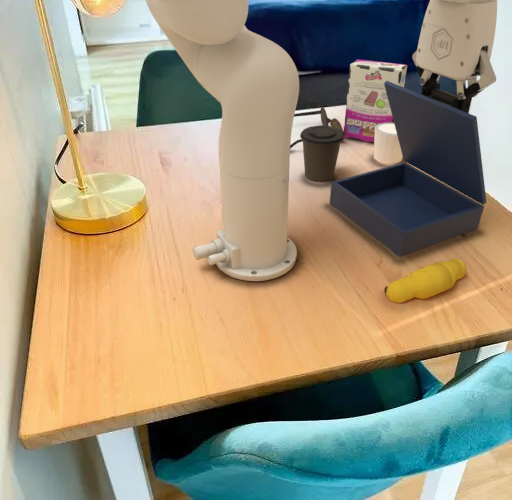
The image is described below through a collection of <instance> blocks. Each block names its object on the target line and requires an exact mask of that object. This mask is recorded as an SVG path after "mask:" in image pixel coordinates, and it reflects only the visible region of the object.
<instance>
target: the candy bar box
mask: <svg viewBox="0 0 512 500" xmlns="http://www.w3.org/2000/svg"><path fill="white" fill-rule="evenodd" d="M407 70H408V65H407V64H403V63H393V62H384V61H374V60H367V59H356V60H354V61H353V62H351V63H350V64H349V71H348V82H347V93H346V94H347V95H346V104H345V116H344V126H343V131H344V132H346V136H344V139H348V140H353V141H359V142H363V143H364V142H365V143H370V144H374V138H375V127H376V125H378V124H381V123H394V120H393V117H392V113H391V109H390V105H389V101H388V97H387V93H386V90H385V86H384V83H385V82H386V81H389V82H391V83H394V84H396V85H399V86H401V87H404V88H405V84H406V78H407Z"/></svg>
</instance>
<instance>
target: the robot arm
mask: <svg viewBox="0 0 512 500" xmlns="http://www.w3.org/2000/svg"><path fill="white" fill-rule="evenodd" d="M145 3H146V5H147V7H148V10H149V12H150V14H151V15H152V17H153V19H154V20H155V22H156V24H157V25H158V27H159V28H160V29H161V31H162V32H163V34H164V35H165V36H166V38H167V39H168V41H169V43H170V44H171V45H172V47H173V49H174V50H175V51H176V53H177V55H178V56H179V57H180V58H181V60H182V61H183V63H184V64H185V65H186V67H187V68H188V70H189V71H190V73H191V74H192V76H193V77H194V78H195V79H196V81H197V82H198V84H199V85H200V86H201V87H202V88H203V89H204V90H205V91H206V92H208V93H209V94H210V95H211V96H212V97H213V98H215V99H216V100H217V102H218V103H220V106H221V122H220V127H219V134H218V167H219V182H220V184H219V185H220V199H221V201H220V202H221V218H222V229H220V230H218V231H216V238H215V239H212V240H211V242H210V243H207V244H201V245H197V246H194V247H192V248H191V249H192V254H193V257H194V259H195V260H196V261H199V260H200V261H201V260H202V259H206V258H207V262H208V265H209V266H213V265H216V267H217V268H218V269H219V270H220V271H221V272H222V273H224V274H225V275H227V276H228V277H231V278H233V279H237V280H241V281H247V282H264V281H268V280H273V279H276V278H279V277H281V276H283V275H285V274H287V273H288V272H289V271H290V270H292V268H293V267H294V266H295V264H296V262H297V257H298V249H297V246H296V244H295V243H294V242H293V240H292V239H291V238H289V237H288V221H289V216H288V215H289V193H290V166H291V165H290V160H291V149H290V145H291V141H292V140H291V139H292V130H293V123H294V118H295V117H294V114H296V109H297V106H298V105H297V104H298V100H299V95H300V77H299V71H298V68H297V66H296V64H295V62H294V60H293V59H292V57H291V56H290V54H289V53H288V52H287V51H286V50H285V49H284V48H283V47H281V46H280V45H279V44H277V43H276V42H274V41H272V40H270V39H269V38H267V37H264V36H262V35H261V34H258V33H256V32H253V31H251V30H249V29H248V28H247V27H246V25H245V24H246V22H247V19H248V14H249V0H145ZM497 18H498V0H429V2H428V5H427V8H426V10H425V14H424V17H423V20H422V21H423V22H422V24H421V30H420V34H419V38H418V42H417V43H418V44H417V48H416V50H415V51H414V53H413V54H412V56H411V58H412V61H413V62H414V63H413V64H414V65H415V67H416V71H417V73H418V76H419V85H420V86H422V87H421V92H420V94H421V95H424V96H426V97H428V96H429V95H430V92H431V90H432V89H434V88H437V89H439V90H441V83H439V80H440V78H441V76H442V77H445V78H448V79H451V80H454V81H455V82H456V96H457V98H455V99H453V102H452V106H451V107H454V108H456V109H459V110H461V111H464V112H466V113H469V114H470V109H471V104H472V100H473V98H476V97H477V96H478V94H480V93H481V92H483V91H484V90H485V89H486V88H488V87H489V86H491V85H493V84H494V83H496V81H497V76H496V73H495V71H494V69H493V66H492V63H491V57H492V52H493V47H494V42H495V36H496V28H497V20H498V19H497ZM478 77H479V79H478ZM466 81H467V82H466ZM436 101H437V100H436Z"/></svg>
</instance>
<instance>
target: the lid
mask: <svg viewBox="0 0 512 500" xmlns="http://www.w3.org/2000/svg"><path fill="white" fill-rule="evenodd" d="M384 86H385V90H386V93H387V97H388V101H389V105H390V109H391V113H392V117H393V120H394V124H395V128H396V132H397V136H398V140H399V144H400V148H401V151H402V155H403V157H402V160H403V161H404V162H406V163H407V164H409V165H411V166H413V167H415V168H416V169H418V170H420V171H422V172H424V173H425V174H427V175H429V176H431V177H433V178H434V179H436V180H438V181H440V182H442V183H443V184H445V185H447V186H449V187H451V188H452V189H454V190H456V191H458V192H460V193H461V194H463V195H465V196H467V197H468V198H470V199H472V200H474V201H476V202H477V203H479V204H481V205H483V206H485V204H487V196H486V195H487V194H486V186H485V178H484V168H483V160H482V152H481V141H480V135H479V124H478V117H477V116H476V115H473V114H471V113H470V112H469V113H466V112H464V111H461V110H459V109H456V108H454V107H451V106H452V102H453V99H455V98H457V95H455V94H452V93H450V92H447V91H445V90H442V89H440V90H439V89H437V88H434V89H432V90H431V92H430V95H429V96H428V97H426V96H424V95H421V93H419V92H416V91H414V90H411V89H409V88H406V87H405V86H404V87H401V86H399V85H396V84H394V83H391V82H389V81H386V82H385V83H384ZM436 100H437V101H436Z"/></svg>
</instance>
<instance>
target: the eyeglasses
mask: <svg viewBox="0 0 512 500" xmlns="http://www.w3.org/2000/svg"><path fill="white" fill-rule="evenodd" d="M316 115H320V121H321V126H329V124H330V127H334V128H337V129H339V130H340V131H341V132H342V133H343V135H344V136H346V132H344V129H343V127H342V124H341V122H340V121H339V119H337V118H335V117H334V118H332V119H331V118H329V117H328V114H327V111H326V109H325V107H324V106H321V108H320V109H319V110H313V111H306V112H305V111H304V112H298V113H295V114H294V118H295V117H304V116H305V117H307V116H316ZM299 143H303V139H302V138H300V139H297V140H296V141H294V142H292V143H290V150H291V149H292V148H293V147H295V146H296V145H297V144H299Z"/></svg>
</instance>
